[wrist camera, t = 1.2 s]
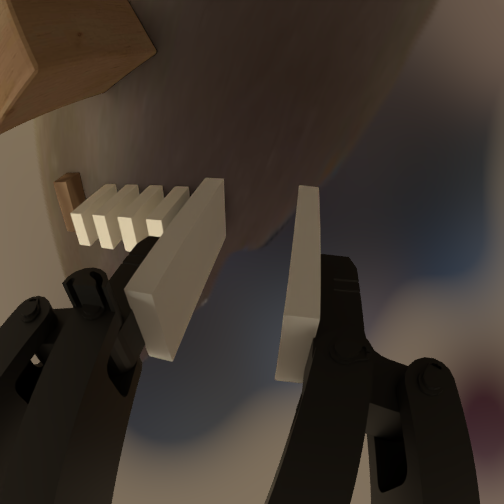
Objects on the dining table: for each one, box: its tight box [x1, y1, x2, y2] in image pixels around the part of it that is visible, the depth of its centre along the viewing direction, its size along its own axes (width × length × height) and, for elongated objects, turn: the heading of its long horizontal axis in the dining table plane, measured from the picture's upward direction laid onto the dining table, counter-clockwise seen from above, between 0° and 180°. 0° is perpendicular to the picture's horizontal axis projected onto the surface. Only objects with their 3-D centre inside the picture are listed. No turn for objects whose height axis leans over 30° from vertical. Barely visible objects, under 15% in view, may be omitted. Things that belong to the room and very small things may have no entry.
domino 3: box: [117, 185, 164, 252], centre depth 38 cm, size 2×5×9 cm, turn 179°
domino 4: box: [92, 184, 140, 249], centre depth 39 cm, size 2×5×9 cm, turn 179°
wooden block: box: [0, 0, 156, 134], centre depth 21 cm, size 10×10×20 cm
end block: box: [53, 173, 86, 232], centre depth 43 cm, size 3×9×4 cm, turn 179°
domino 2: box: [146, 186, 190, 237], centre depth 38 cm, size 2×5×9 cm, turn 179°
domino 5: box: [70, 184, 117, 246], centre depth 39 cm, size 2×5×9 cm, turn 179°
